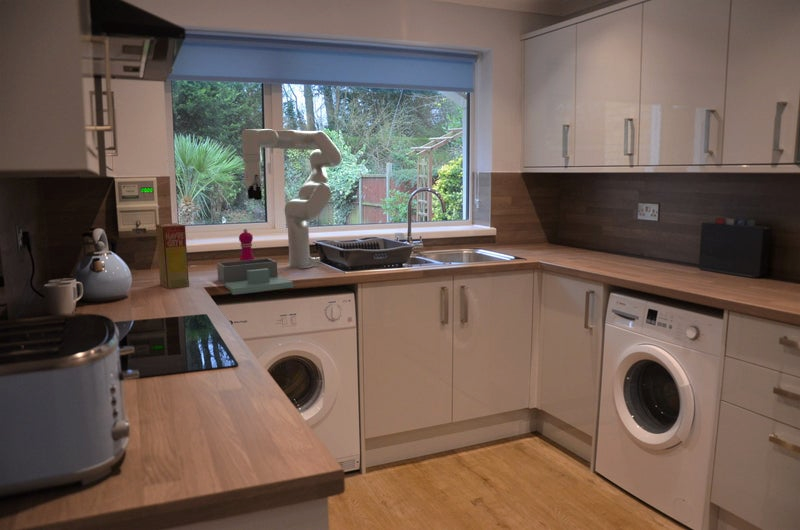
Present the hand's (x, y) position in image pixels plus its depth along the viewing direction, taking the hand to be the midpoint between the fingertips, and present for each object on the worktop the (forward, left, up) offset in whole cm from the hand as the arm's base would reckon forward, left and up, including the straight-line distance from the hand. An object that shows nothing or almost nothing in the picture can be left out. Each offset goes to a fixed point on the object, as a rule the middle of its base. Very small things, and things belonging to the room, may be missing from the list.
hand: (254, 199), depth 276 cm
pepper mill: (+3, -8, -34) cm, 35 cm away
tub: (+8, +11, -33) cm, 36 cm away
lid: (+8, +28, -33) cm, 44 cm away
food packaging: (+36, +2, -34) cm, 49 cm away
